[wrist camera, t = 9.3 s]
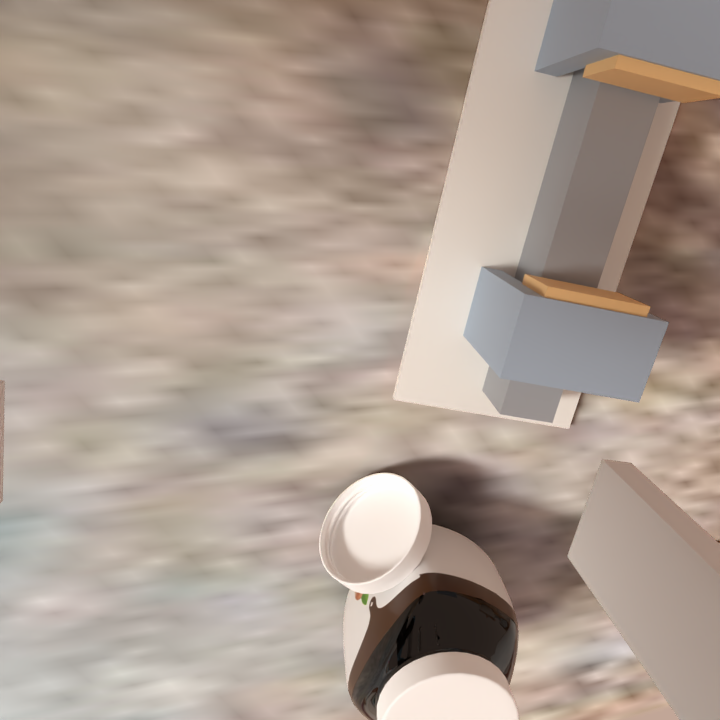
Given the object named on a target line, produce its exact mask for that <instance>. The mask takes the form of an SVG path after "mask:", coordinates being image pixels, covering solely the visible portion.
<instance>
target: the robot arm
mask: <svg viewBox="0 0 720 720" xmlns="http://www.w3.org/2000/svg"><path fill="white" fill-rule="evenodd" d="M4 393H5V381H2V380H0V503H1V502H2V501H3V452H4ZM567 557H568V558H569V560H570V561H571V563H572V564H573V566H574V567H575V568H576V570H577V571H578V573H579V574H580V576H581V577H582V579H583V580H584V582H585V583H586V584H587V586H588V587H589V589H590V590H591V592H592V593H593V595H594V596H595V598H596V599H597V600H598V602H599V603H600V605H601V606H602V608H603V609H604V611H605V612H606V614H607V615H608V616H609V618H610V619H611V621H612V622H613V624H614V625H615V627H616V628H617V630H618V631H619V632H620V634H621V635H622V637H623V638H624V640H625V641H626V643H627V644H628V646H629V647H630V648H631V650H632V651H633V653H634V654H635V656H636V657H637V659H638V660H639V662H640V663H641V664H642V666H643V667H644V669H645V670H646V672H647V673H648V675H649V676H650V678H651V679H652V680H653V682H654V683H655V685H656V686H657V688H658V689H659V691H660V692H661V694H662V695H663V696H664V698H665V699H666V701H667V702H668V704H669V705H670V707H671V708H672V710H673V711H674V712H675V714H676V715H677V717H678V718H679V720H720V544H719V543H718V542H717V541H716V540H715V539H714V538H713V537H711V536H710V535H709V534H708V533H707V532H706V531H705V530H704V529H703V528H702V527H701V526H699V525H698V524H697V523H696V522H695V521H694V520H693V519H692V518H691V517H690V516H689V515H687V514H686V513H685V512H684V511H683V510H682V509H681V508H680V507H679V506H678V505H676V504H675V503H674V502H673V501H672V500H671V499H670V498H669V497H668V496H667V495H666V494H664V493H663V492H662V491H661V490H660V489H659V488H658V487H657V486H656V485H655V484H654V483H652V482H651V481H650V480H649V479H648V478H647V477H646V476H645V475H644V474H643V473H642V472H640V471H639V470H638V469H637V468H636V467H635V466H634V465H633V464H632V463H627V462H620V461H612V460H605V459H602V461H601V464H600V466H599V469H598V472H597V475H596V478H595V480H594V483H593V486H592V489H591V492H590V494H589V497H588V500H587V503H586V505H585V508H584V511H583V514H582V517H581V519H580V522H579V525H578V528H577V530H576V533H575V536H574V539H573V542H572V544H571V547H570V550H569V553H568V555H567Z"/></svg>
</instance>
